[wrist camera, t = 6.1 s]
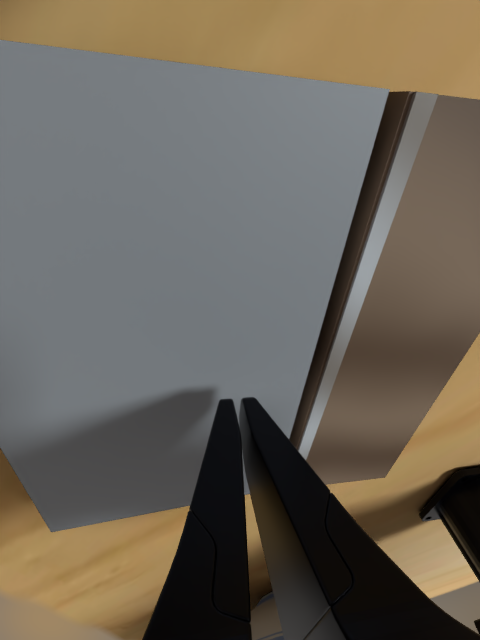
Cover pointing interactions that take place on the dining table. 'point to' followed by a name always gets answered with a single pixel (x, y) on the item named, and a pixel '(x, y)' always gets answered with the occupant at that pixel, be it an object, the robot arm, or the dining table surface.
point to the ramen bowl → (266, 620)
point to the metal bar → (398, 291)
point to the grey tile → (160, 263)
